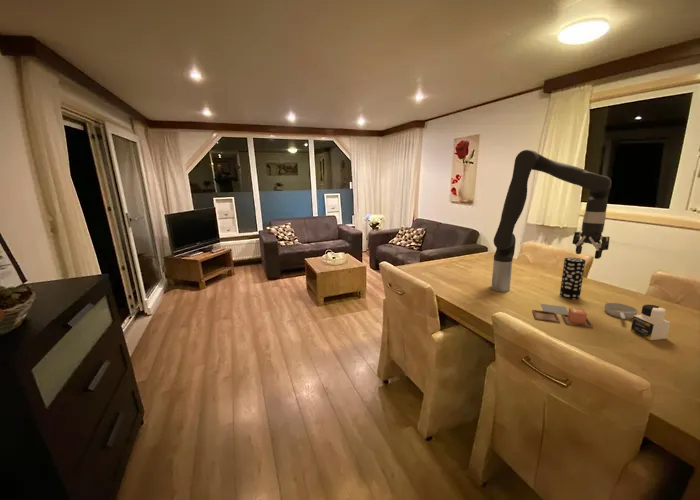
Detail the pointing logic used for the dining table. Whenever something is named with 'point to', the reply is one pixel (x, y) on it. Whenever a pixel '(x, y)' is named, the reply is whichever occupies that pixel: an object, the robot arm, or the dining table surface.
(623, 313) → the saucepan
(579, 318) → the letter block
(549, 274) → the dining table surface
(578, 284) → the white-spotted black cylinder
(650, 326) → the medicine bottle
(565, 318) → the tray
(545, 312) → the tray
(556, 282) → the dining table surface
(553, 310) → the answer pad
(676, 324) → the dining table surface
